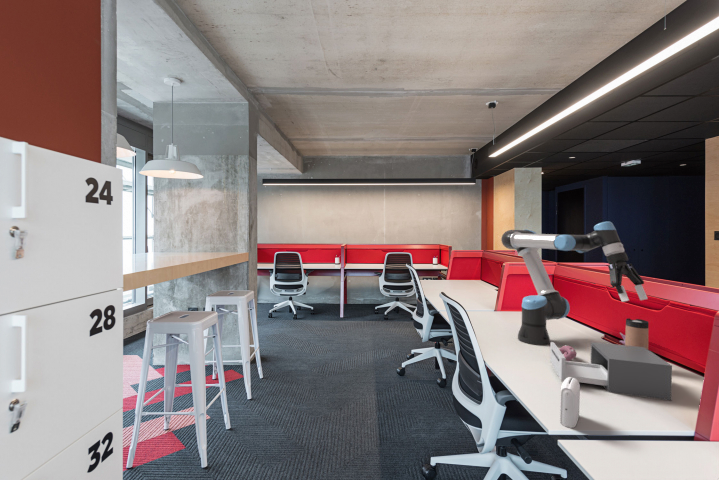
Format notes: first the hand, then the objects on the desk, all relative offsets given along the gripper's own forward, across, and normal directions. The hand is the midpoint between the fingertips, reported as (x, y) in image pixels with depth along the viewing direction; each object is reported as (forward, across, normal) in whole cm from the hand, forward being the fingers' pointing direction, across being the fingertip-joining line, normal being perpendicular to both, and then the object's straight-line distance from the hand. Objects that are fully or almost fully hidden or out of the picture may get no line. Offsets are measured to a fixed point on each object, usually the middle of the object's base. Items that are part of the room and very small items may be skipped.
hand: (635, 300), depth 145 cm
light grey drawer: (+25, -35, +10) cm, 44 cm away
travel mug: (+27, -1, +10) cm, 29 cm away
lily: (+23, +13, +18) cm, 32 cm away
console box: (+30, -24, +2) cm, 39 cm away
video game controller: (+20, -20, +26) cm, 39 cm away
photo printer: (+35, -68, -5) cm, 76 cm away
